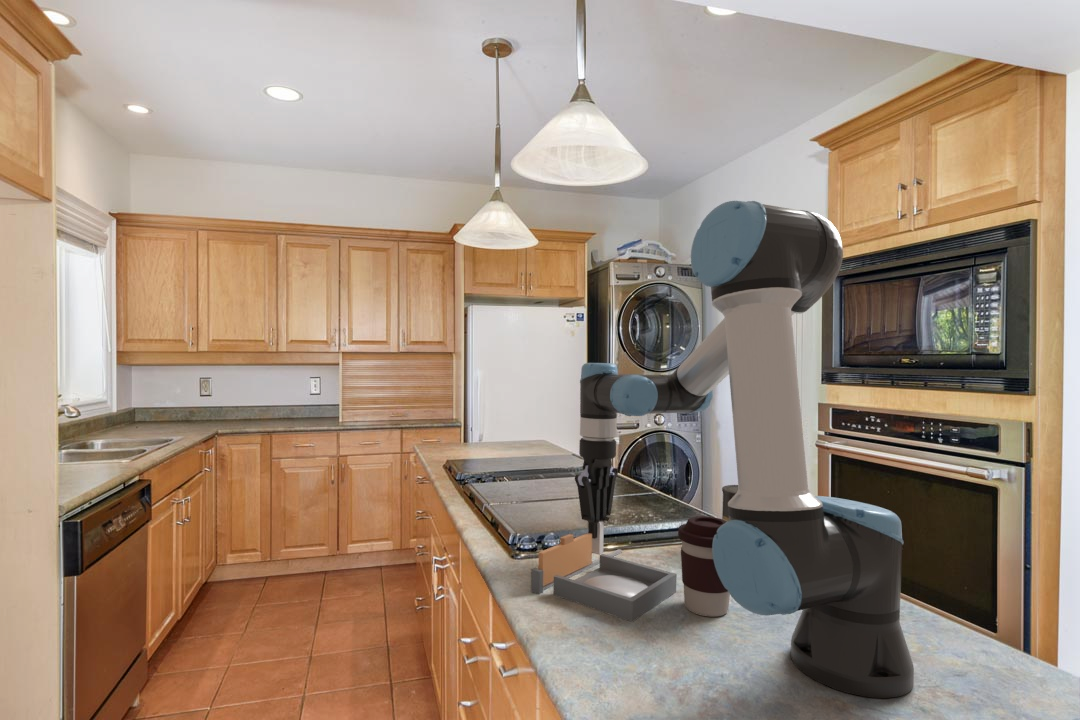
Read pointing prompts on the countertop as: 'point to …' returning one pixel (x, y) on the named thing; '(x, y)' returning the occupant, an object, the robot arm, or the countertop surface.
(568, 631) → the countertop surface
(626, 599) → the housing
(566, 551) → the lid panel
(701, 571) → the coffee cup
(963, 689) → the countertop surface
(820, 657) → the robot arm
